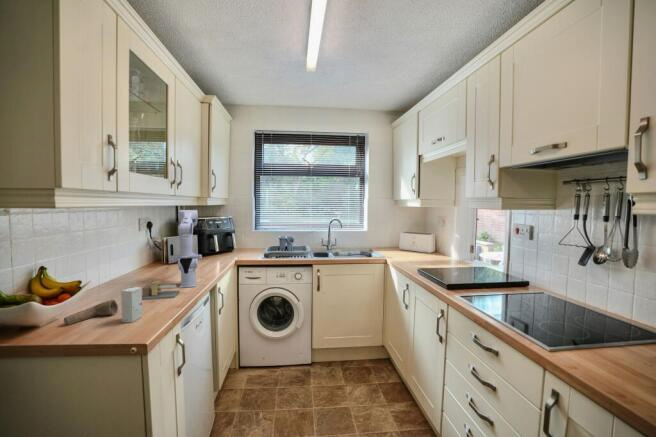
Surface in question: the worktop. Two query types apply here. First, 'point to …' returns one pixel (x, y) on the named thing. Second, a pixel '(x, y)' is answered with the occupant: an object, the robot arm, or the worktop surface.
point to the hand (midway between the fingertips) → (186, 273)
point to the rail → (164, 294)
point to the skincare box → (131, 304)
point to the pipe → (93, 312)
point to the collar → (156, 287)
